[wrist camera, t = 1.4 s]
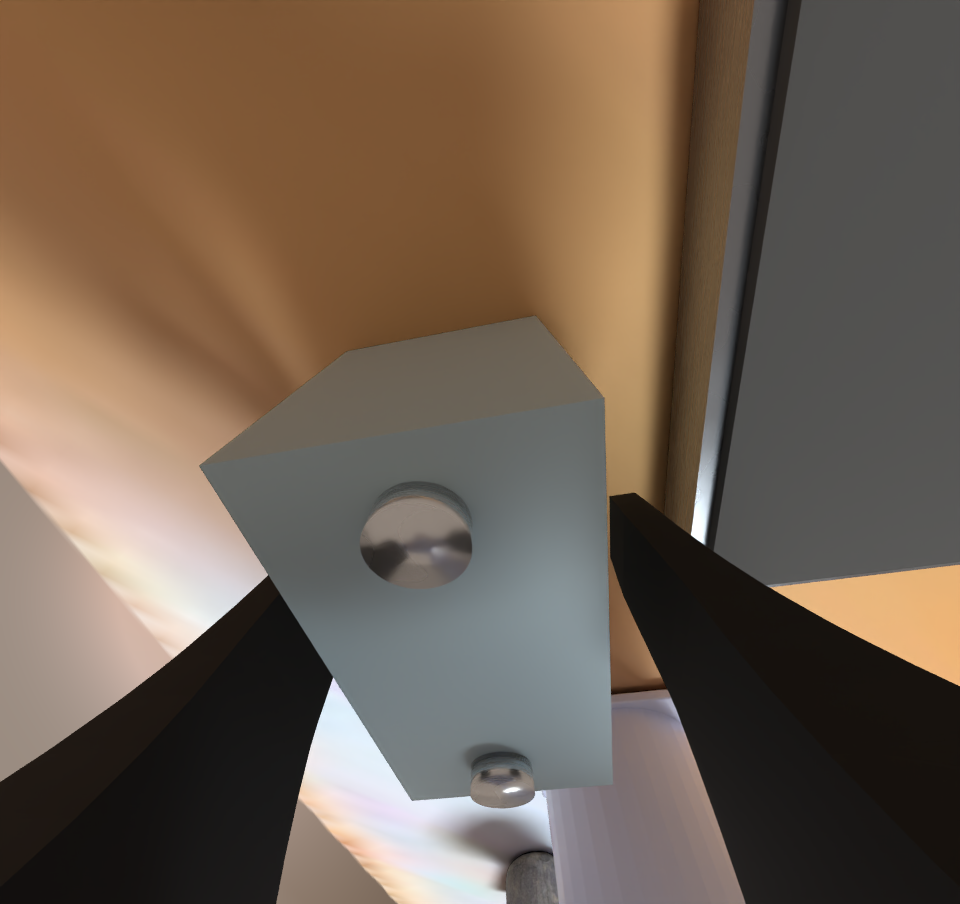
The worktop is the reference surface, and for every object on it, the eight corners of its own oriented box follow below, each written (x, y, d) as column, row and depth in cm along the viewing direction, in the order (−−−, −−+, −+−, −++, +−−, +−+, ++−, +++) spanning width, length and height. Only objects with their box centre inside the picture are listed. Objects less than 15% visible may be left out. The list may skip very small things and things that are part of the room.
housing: (563, 585, 14) (619, 812, 9) (436, 602, 15) (408, 827, 9) (535, 314, 9) (618, 414, 4) (348, 349, 10) (169, 488, 4)
